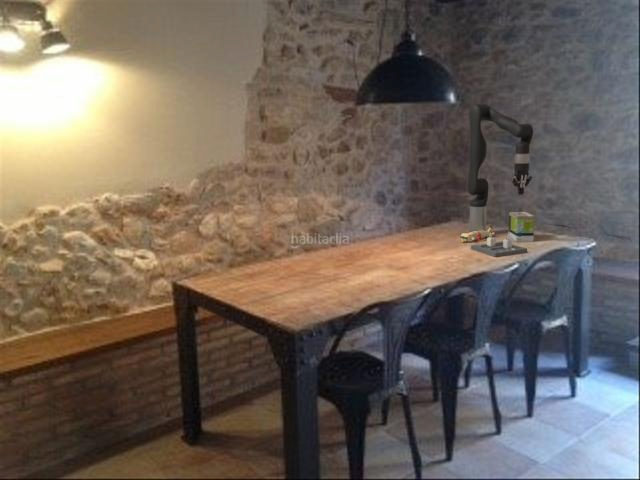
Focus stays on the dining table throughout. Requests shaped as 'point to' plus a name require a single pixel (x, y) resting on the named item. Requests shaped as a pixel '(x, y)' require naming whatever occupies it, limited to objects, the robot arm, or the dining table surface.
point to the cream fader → (491, 241)
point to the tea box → (521, 226)
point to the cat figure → (477, 235)
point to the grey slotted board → (498, 249)
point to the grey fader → (507, 243)
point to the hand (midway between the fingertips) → (520, 194)
